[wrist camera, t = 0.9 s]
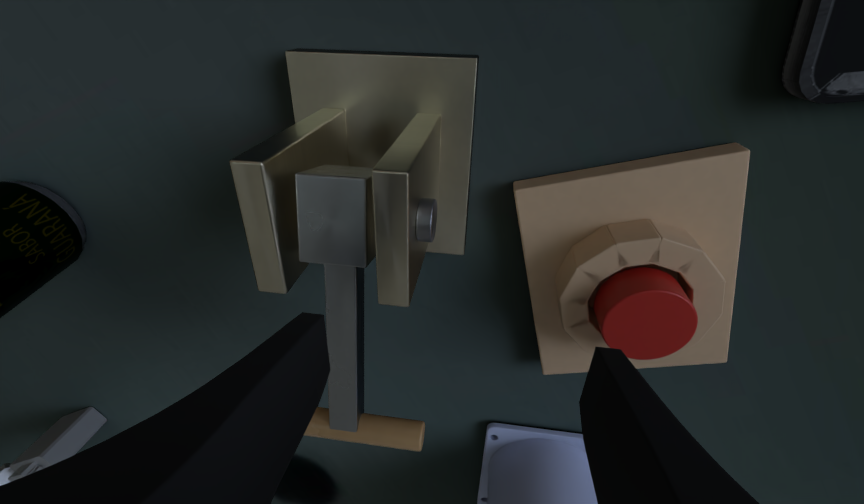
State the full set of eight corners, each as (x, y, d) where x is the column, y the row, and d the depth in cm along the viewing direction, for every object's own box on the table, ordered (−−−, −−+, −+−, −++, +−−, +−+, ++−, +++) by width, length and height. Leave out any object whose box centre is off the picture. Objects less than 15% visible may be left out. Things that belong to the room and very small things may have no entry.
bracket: (465, 243, 21) (447, 362, 14) (320, 231, 22) (233, 337, 15) (478, 55, 17) (462, 88, 10) (297, 48, 18) (160, 75, 11)
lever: (426, 426, 17) (417, 472, 15) (288, 407, 18) (260, 449, 16) (441, 172, 14) (432, 182, 12) (272, 160, 15) (233, 168, 13)
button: (680, 329, 19) (696, 357, 17) (595, 337, 20) (603, 364, 18) (683, 261, 17) (701, 285, 16) (590, 272, 18) (598, 295, 17)
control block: (717, 346, 22) (745, 391, 20) (541, 360, 24) (546, 401, 22) (736, 141, 17) (778, 165, 15) (512, 180, 19) (514, 207, 17)
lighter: (91, 406, 33) (-17, 510, 26) (108, 420, 34) (7, 526, 27) (40, 424, 35) (-71, 524, 28) (57, 437, 36) (-48, 538, 29)
